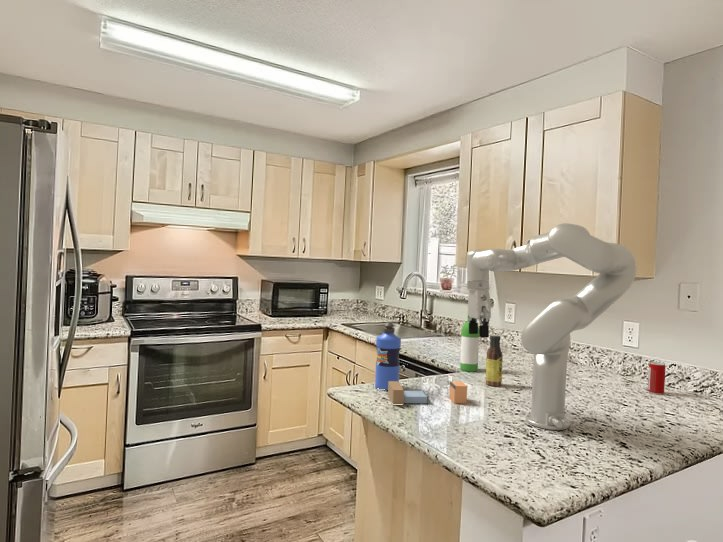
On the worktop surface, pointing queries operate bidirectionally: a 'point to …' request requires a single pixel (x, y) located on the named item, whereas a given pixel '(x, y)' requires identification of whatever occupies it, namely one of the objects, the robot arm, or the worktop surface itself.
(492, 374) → the sauce bottle
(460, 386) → the stub
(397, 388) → the tan blue stepped block
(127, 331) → the worktop surface
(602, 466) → the worktop surface
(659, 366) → the soda can
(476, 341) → the wine bottle
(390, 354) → the water bottle
